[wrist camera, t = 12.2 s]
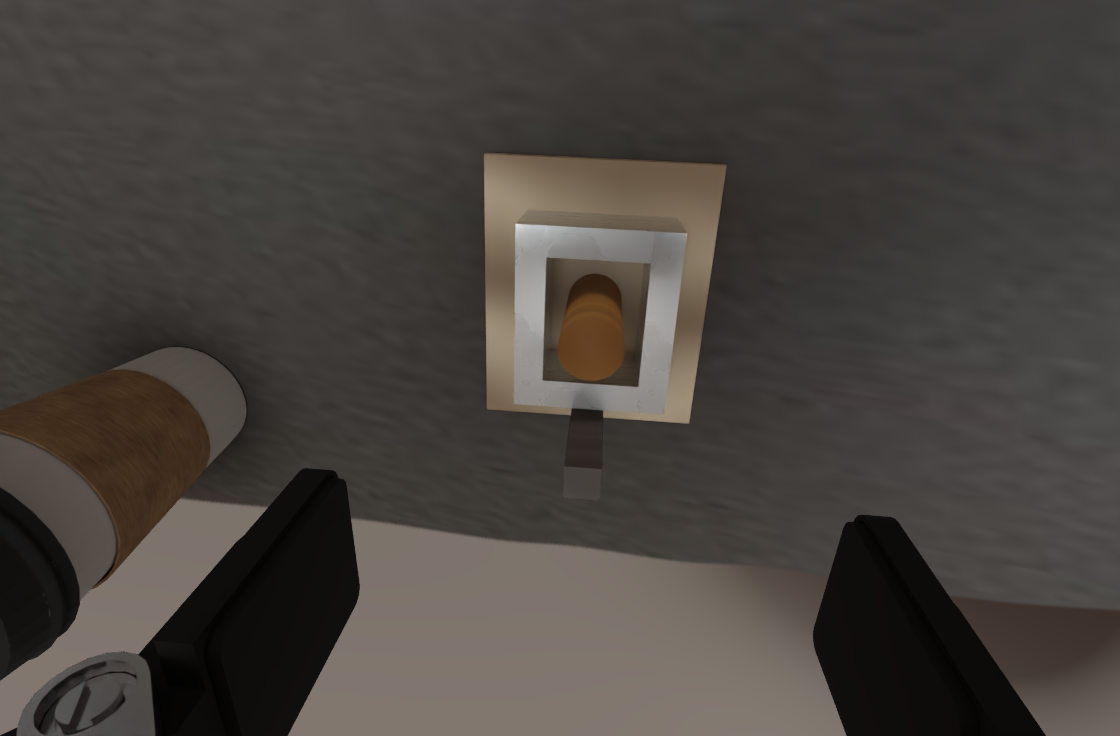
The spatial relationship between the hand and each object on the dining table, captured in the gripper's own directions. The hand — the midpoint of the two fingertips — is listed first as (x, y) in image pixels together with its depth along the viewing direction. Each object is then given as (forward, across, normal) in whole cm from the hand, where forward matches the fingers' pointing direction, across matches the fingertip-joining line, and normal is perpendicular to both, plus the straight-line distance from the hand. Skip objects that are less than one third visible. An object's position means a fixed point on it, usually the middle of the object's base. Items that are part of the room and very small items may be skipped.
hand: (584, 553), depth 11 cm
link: (+17, 0, 0) cm, 17 cm away
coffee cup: (+18, +21, +7) cm, 29 cm away
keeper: (+18, 0, 0) cm, 18 cm away
